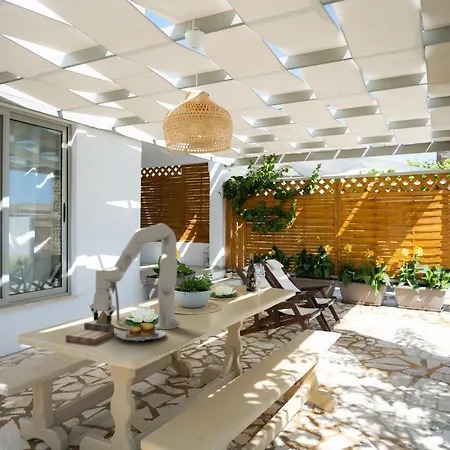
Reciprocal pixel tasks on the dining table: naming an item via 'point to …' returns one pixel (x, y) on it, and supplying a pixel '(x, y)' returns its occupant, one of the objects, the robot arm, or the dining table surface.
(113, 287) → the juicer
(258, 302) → the dining table surface
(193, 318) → the dining table surface
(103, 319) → the rock
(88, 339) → the wooden cutting board
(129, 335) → the food on plate
